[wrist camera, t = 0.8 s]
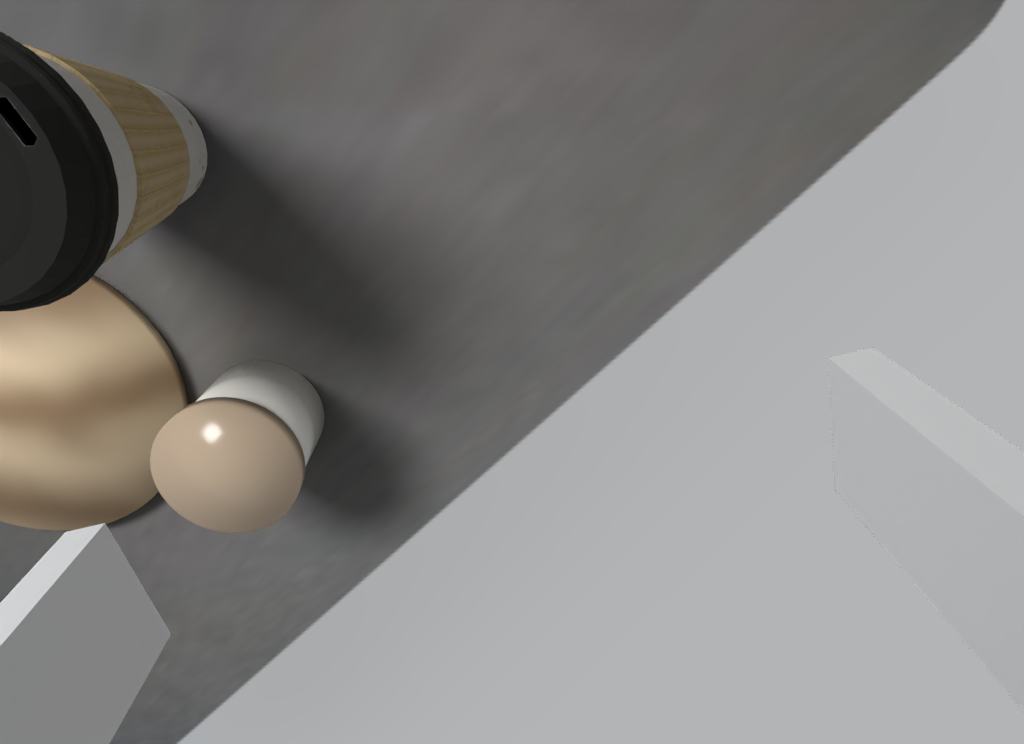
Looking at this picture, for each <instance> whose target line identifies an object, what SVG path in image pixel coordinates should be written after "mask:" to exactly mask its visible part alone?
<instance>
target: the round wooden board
mask: <svg viewBox="0 0 1024 744" xmlns="http://www.w3.org/2000/svg"><path fill="white" fill-rule="evenodd" d="M187 405H189V403H188V398H187V393H186V388H185V384H184V381H183V378H182V375H181V372H180V369H179V367H178V365H177V363H176V361H175V359H174V357H173V354H172V352H171V350H170V349H169V347H168V346H167V344H166V343H165V341H164V339H163V338H162V336H161V335H160V333H159V332H158V331H157V329H156V328H155V327H154V326H153V325H152V323H151V322H150V321H149V320H148V319H147V317H146V316H145V315H144V314H143V313H142V312H141V311H140V310H139V309H138V308H137V307H136V306H135V305H134V304H132V303H131V302H130V301H129V300H128V299H127V298H126V297H124V296H123V295H122V294H121V293H119V292H118V291H117V290H115V289H114V288H113V287H112V286H110V285H109V284H107V283H105V282H104V281H102V280H101V279H99V278H97V277H96V276H94V275H93V276H92V278H91V279H90V280H89V281H88V282H86V283H85V284H84V285H82V286H81V287H80V288H79V289H77V290H76V291H75V292H73V293H72V294H71V295H69V296H67V297H64V298H62V299H60V300H58V301H56V302H53V303H51V304H49V305H44V306H40V307H35V308H30V309H26V310H18V311H1V312H0V521H2V522H6V523H9V524H13V525H16V526H22V527H27V528H33V529H42V530H54V531H57V530H77V529H81V528H85V527H90V526H94V525H98V524H103V523H105V524H108V523H111V522H113V521H116V520H118V519H121V518H123V517H125V516H127V515H129V514H131V513H132V512H134V511H136V510H138V509H139V508H141V507H142V506H143V505H144V504H146V503H147V502H148V501H149V500H151V499H152V498H153V497H154V496H155V495H156V494H157V493H158V489H157V487H156V485H155V482H154V480H153V477H152V473H151V466H150V455H151V449H152V445H153V442H154V440H155V438H156V436H157V434H158V433H159V431H160V430H161V429H162V427H163V426H164V425H165V424H166V423H167V422H168V421H169V420H170V419H171V418H172V417H173V416H174V415H175V414H176V413H177V412H178V411H180V410H181V409H182V408H184V407H186V406H187Z"/></svg>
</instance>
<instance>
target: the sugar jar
mask: <svg viewBox="0 0 1024 744" xmlns="http://www.w3.org/2000/svg"><path fill="white" fill-rule="evenodd" d="M323 426H324V409H323V405H322V402H321V399H320V397H319V395H318V393H317V392H316V390H315V388H314V387H313V386H312V385H311V383H310V382H309V381H308V380H307V379H306V378H305V377H303V376H302V375H301V374H300V373H298V372H297V371H295V370H293V369H292V368H290V367H287V366H285V365H282V364H280V363H276V362H272V361H263V360H255V361H247V362H243V363H240V364H237V365H235V366H233V367H231V368H229V369H228V370H226V371H225V372H224V373H223V374H221V375H220V376H219V378H218V379H217V380H216V381H215V382H214V383H213V384H212V385H211V386H210V387H209V388H208V389H207V390H206V391H205V392H204V393H203V394H202V395H201V396H200V397H199V399H198V400H197V401H196V402H194V403H192V404H189V405H187V406H186V407H184V408H182V409H181V410H180V411H178V412H177V413H176V414H175V415H174V416H173V417H172V418H171V419H170V420H169V421H168V422H167V423H166V424H165V425H164V426H163V427H162V429H161V430H160V431H159V433H158V434H157V436H156V438H155V440H154V442H153V445H152V449H151V455H150V466H151V473H152V477H153V480H154V482H155V485H156V487H157V489H158V491H159V492H160V494H161V495H162V497H163V498H164V500H165V501H166V502H167V503H168V504H169V505H170V506H171V507H172V508H173V509H174V510H175V511H176V512H177V513H179V514H180V515H181V516H183V517H184V518H186V519H187V520H189V521H191V522H193V523H195V524H197V525H199V526H201V527H204V528H207V529H210V530H214V531H219V532H225V533H245V532H252V531H256V530H260V529H262V528H265V527H268V526H270V525H271V524H273V523H275V522H277V521H278V520H279V519H281V518H282V517H283V516H284V515H285V514H286V513H287V512H288V511H289V510H290V508H291V507H292V506H293V504H294V502H295V500H296V498H297V496H298V494H299V492H300V490H301V488H302V485H303V482H304V478H305V467H306V465H307V463H308V460H309V458H310V456H311V454H312V452H313V450H314V448H315V446H316V444H317V442H318V440H319V438H320V436H321V433H322V430H323Z"/></svg>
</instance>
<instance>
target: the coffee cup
mask: <svg viewBox="0 0 1024 744" xmlns="http://www.w3.org/2000/svg"><path fill="white" fill-rule="evenodd" d="M206 168H207V149H206V142H205V139H204V137H203V134H202V131H201V129H200V127H199V125H198V123H197V122H196V120H195V118H194V117H193V116H192V114H191V113H190V112H189V111H188V110H187V108H186V107H185V106H183V105H182V104H181V103H180V102H179V101H178V100H177V99H175V98H174V97H172V96H171V95H169V94H167V93H166V92H164V91H161V90H159V89H156V88H154V87H151V86H147V85H144V84H141V83H137V82H136V81H134V80H132V79H130V78H127V77H125V76H122V75H120V74H117V73H114V72H111V71H108V70H104V69H101V68H98V67H95V66H92V65H88V64H85V63H82V62H79V61H76V60H72V59H69V58H66V57H63V56H60V55H56V54H53V53H50V52H47V51H44V50H41V49H37V48H34V47H31V46H28V45H23V44H21V43H19V42H17V41H16V40H14V39H12V38H11V37H9V36H8V35H6V34H4V33H2V32H0V312H1V311H18V310H26V309H30V308H35V307H40V306H44V305H49V304H51V303H53V302H56V301H58V300H60V299H62V298H64V297H67V296H69V295H71V294H72V293H73V292H75V291H76V290H77V289H79V288H80V287H81V286H82V285H84V284H85V283H86V282H88V281H89V280H90V279H91V278H92V276H93V275H94V274H95V272H96V271H97V270H98V269H99V267H100V266H101V265H102V264H103V263H104V262H106V261H107V260H109V259H110V258H111V257H113V256H114V255H116V254H117V253H118V252H120V251H121V250H123V249H124V248H125V247H127V246H128V245H129V244H131V243H132V242H134V241H135V240H136V239H138V238H139V237H141V236H142V235H143V234H145V233H146V232H147V231H149V230H150V229H152V228H153V227H154V226H156V225H157V224H159V223H160V222H161V221H163V220H164V219H165V218H167V217H168V216H169V215H170V214H172V213H173V211H174V210H175V209H176V208H177V206H178V205H180V204H181V203H183V202H184V201H186V200H187V199H188V198H189V197H191V196H192V195H193V194H194V193H195V192H196V190H197V189H198V188H199V187H200V185H201V183H202V181H203V179H204V177H205V172H206Z"/></svg>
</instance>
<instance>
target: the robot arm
mask: <svg viewBox="0 0 1024 744" xmlns="http://www.w3.org/2000/svg"><path fill="white" fill-rule="evenodd" d="M828 363H829V364H828V365H829V384H830V385H829V386H830V405H831V425H832V447H833V467H834V485H835V486H834V488H835V491H836V492H837V493H838V495H839V496H840V497H841V498H842V499H843V501H844V502H845V503H846V504H847V505H848V507H849V508H850V509H851V510H852V511H853V512H854V514H855V515H856V516H857V517H858V518H859V519H860V521H861V522H862V523H863V524H864V525H865V526H866V528H867V529H868V530H869V531H870V532H871V533H872V535H873V536H874V537H875V538H876V539H877V541H878V542H879V543H880V544H881V545H882V546H883V548H884V549H885V550H886V551H887V552H888V553H889V555H890V556H891V557H892V558H893V559H894V560H895V562H896V563H897V564H898V565H899V566H900V568H901V569H902V570H903V571H904V572H905V573H906V575H907V576H908V577H909V578H910V579H911V580H912V582H913V583H914V584H915V585H916V586H917V587H918V588H919V590H920V591H921V592H922V593H923V595H924V596H925V597H926V598H927V599H928V600H929V602H930V603H931V604H932V605H933V606H934V607H935V609H936V610H937V611H938V612H939V613H940V614H941V616H942V617H943V618H944V619H945V620H946V622H947V623H948V624H949V625H950V626H951V627H952V629H953V630H954V631H955V632H956V633H957V635H958V636H959V637H960V638H961V639H962V640H963V642H964V643H965V644H966V645H967V646H968V647H969V649H970V650H971V651H972V652H973V653H974V654H975V656H976V657H977V658H978V659H979V660H980V662H981V663H982V664H983V665H984V666H985V667H986V669H987V670H989V672H990V673H991V674H992V676H993V677H994V678H995V679H996V680H997V681H998V683H999V684H1000V685H1001V686H1002V687H1003V689H1004V690H1005V691H1006V692H1007V693H1008V694H1009V695H1010V697H1011V698H1012V699H1013V700H1014V701H1015V702H1016V704H1017V705H1018V706H1019V707H1020V708H1021V710H1022V711H1023V712H1024V451H1023V450H1021V449H1020V448H1018V447H1017V446H1015V445H1014V444H1012V443H1011V442H1010V441H1008V440H1007V439H1005V438H1004V437H1002V436H1001V435H999V434H998V433H997V432H995V431H994V430H992V429H991V428H989V427H988V426H986V425H985V424H983V423H982V422H981V421H979V420H978V419H976V418H975V417H973V416H972V415H970V414H969V413H968V412H966V411H965V410H963V409H962V408H960V407H959V406H958V405H956V404H954V403H953V402H952V401H950V400H949V399H947V398H946V397H944V396H943V395H942V394H940V393H939V392H937V391H936V390H934V389H933V388H931V387H930V386H929V385H927V384H926V383H924V382H923V381H921V380H920V379H918V378H917V377H915V376H914V375H913V374H911V373H910V372H908V371H907V370H905V369H904V368H903V367H901V366H900V365H898V364H897V363H895V362H894V361H892V360H891V359H889V358H888V357H887V356H885V355H884V354H882V353H881V352H879V351H878V350H876V349H875V348H874V347H873V348H868V349H864V350H860V351H855V352H851V353H847V354H842V355H838V356H833V357H829V358H828ZM170 635H171V633H170V632H169V630H168V628H167V627H166V625H165V623H164V622H163V620H162V618H161V617H160V615H159V613H158V611H157V610H156V608H155V606H154V605H153V603H152V601H151V600H150V598H149V596H148V595H147V593H146V591H145V590H144V588H143V586H142V584H141V583H140V581H139V579H138V578H137V576H136V574H135V573H134V571H133V569H132V568H131V566H130V564H129V563H128V561H127V559H126V557H125V556H124V554H123V552H122V551H121V549H120V547H119V546H118V544H117V542H116V541H115V539H114V537H113V536H112V534H111V532H110V530H109V529H108V527H107V525H106V524H105V523H103V524H98V525H94V526H90V527H85V528H81V529H77V530H72V531H68V532H65V533H64V534H63V535H62V537H61V538H60V539H59V540H58V541H57V542H56V543H55V544H54V545H53V546H52V547H51V548H50V550H49V551H48V552H47V553H46V554H45V555H44V556H43V557H42V558H41V559H40V560H39V562H38V563H37V564H36V565H35V566H34V567H33V568H32V569H31V570H30V571H29V572H28V573H27V575H26V576H25V577H24V578H23V579H22V580H21V581H20V582H19V583H18V584H17V585H16V587H15V588H14V589H13V590H12V591H11V592H10V593H9V594H8V595H7V596H6V597H5V598H4V600H3V601H2V602H1V603H0V744H110V742H111V740H112V738H113V736H114V735H115V733H116V731H117V729H118V728H119V726H120V724H121V722H122V720H123V719H124V717H125V715H126V713H127V712H128V710H129V708H130V706H131V704H132V703H133V701H134V699H135V697H136V696H137V694H138V692H139V690H140V688H141V687H142V685H143V683H144V681H145V680H146V678H147V676H148V674H149V672H150V671H151V669H152V667H153V665H154V664H155V662H156V660H157V658H158V656H159V655H160V653H161V651H162V649H163V648H164V646H165V644H166V642H167V640H168V639H169V637H170Z"/></svg>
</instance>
